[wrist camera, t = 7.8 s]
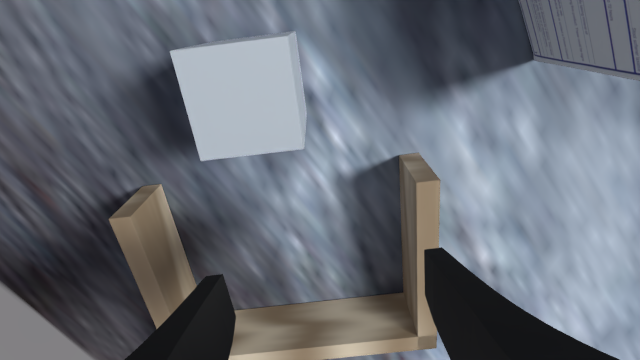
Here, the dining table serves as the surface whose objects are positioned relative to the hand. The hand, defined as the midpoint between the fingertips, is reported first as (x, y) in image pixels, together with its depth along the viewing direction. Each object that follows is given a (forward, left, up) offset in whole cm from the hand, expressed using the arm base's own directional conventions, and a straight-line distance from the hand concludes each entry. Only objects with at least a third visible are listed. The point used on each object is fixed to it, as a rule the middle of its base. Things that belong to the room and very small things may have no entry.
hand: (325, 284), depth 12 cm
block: (-3, +6, -10) cm, 12 cm away
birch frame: (-3, -6, -10) cm, 12 cm away
